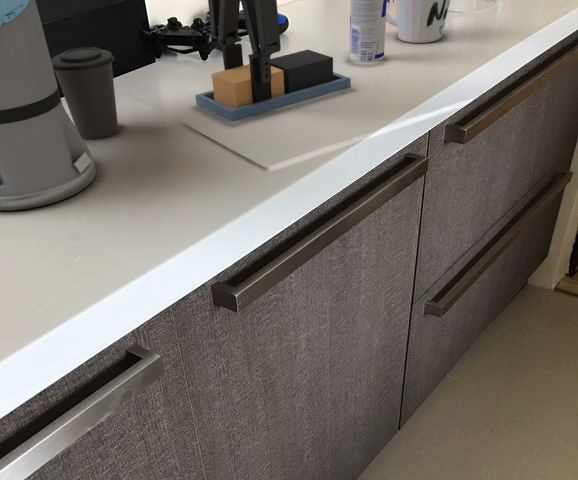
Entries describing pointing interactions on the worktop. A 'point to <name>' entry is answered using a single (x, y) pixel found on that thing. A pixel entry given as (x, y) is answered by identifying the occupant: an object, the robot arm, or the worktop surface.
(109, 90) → the coffee cup
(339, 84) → the tray
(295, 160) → the worktop surface
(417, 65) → the worktop surface
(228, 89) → the tan block
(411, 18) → the mug
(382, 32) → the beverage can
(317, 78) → the charcoal pad
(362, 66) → the worktop surface
